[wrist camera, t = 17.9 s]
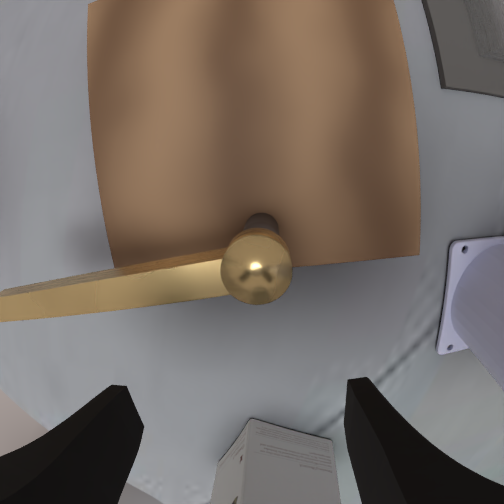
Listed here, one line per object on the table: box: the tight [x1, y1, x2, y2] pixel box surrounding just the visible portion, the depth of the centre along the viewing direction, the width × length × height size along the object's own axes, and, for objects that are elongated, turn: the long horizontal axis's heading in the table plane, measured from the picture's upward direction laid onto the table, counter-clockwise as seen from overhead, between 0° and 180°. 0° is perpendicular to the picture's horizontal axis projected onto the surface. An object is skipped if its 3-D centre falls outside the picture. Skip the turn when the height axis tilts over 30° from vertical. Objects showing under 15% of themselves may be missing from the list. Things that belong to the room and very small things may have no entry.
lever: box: [0, 228, 292, 322], centre depth 11 cm, size 14×2×1 cm, turn 101°
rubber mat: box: [422, 0, 504, 98], centre depth 12 cm, size 10×10×1 cm
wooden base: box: [87, 0, 421, 268], centre depth 12 cm, size 16×16×6 cm
